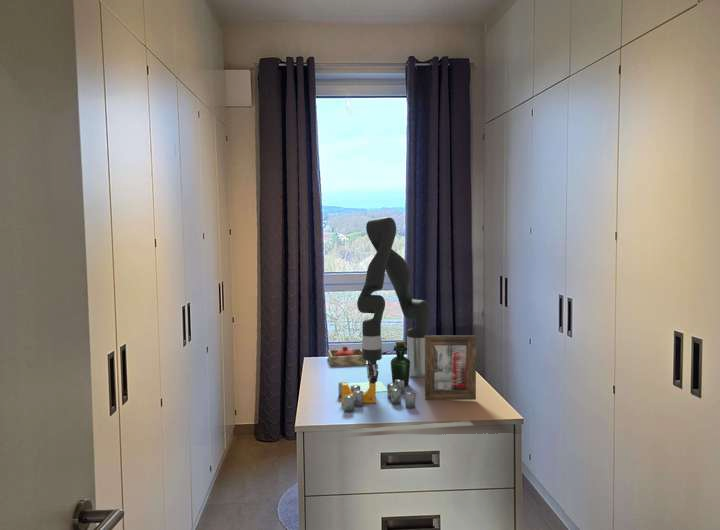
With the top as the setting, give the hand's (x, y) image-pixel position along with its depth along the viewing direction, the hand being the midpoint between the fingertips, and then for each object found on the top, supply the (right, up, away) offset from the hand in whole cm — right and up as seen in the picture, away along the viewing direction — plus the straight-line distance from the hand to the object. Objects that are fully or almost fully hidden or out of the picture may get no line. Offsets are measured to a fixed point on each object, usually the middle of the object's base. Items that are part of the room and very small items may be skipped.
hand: (372, 391), depth 197 cm
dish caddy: (-11, +1, +53) cm, 54 cm away
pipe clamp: (-5, -2, -9) cm, 11 cm away
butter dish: (-12, 0, +52) cm, 54 cm away
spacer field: (+1, -2, -7) cm, 8 cm away
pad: (-3, -1, +10) cm, 11 cm away
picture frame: (+29, -2, -6) cm, 29 cm away
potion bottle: (+12, -1, +14) cm, 18 cm away
